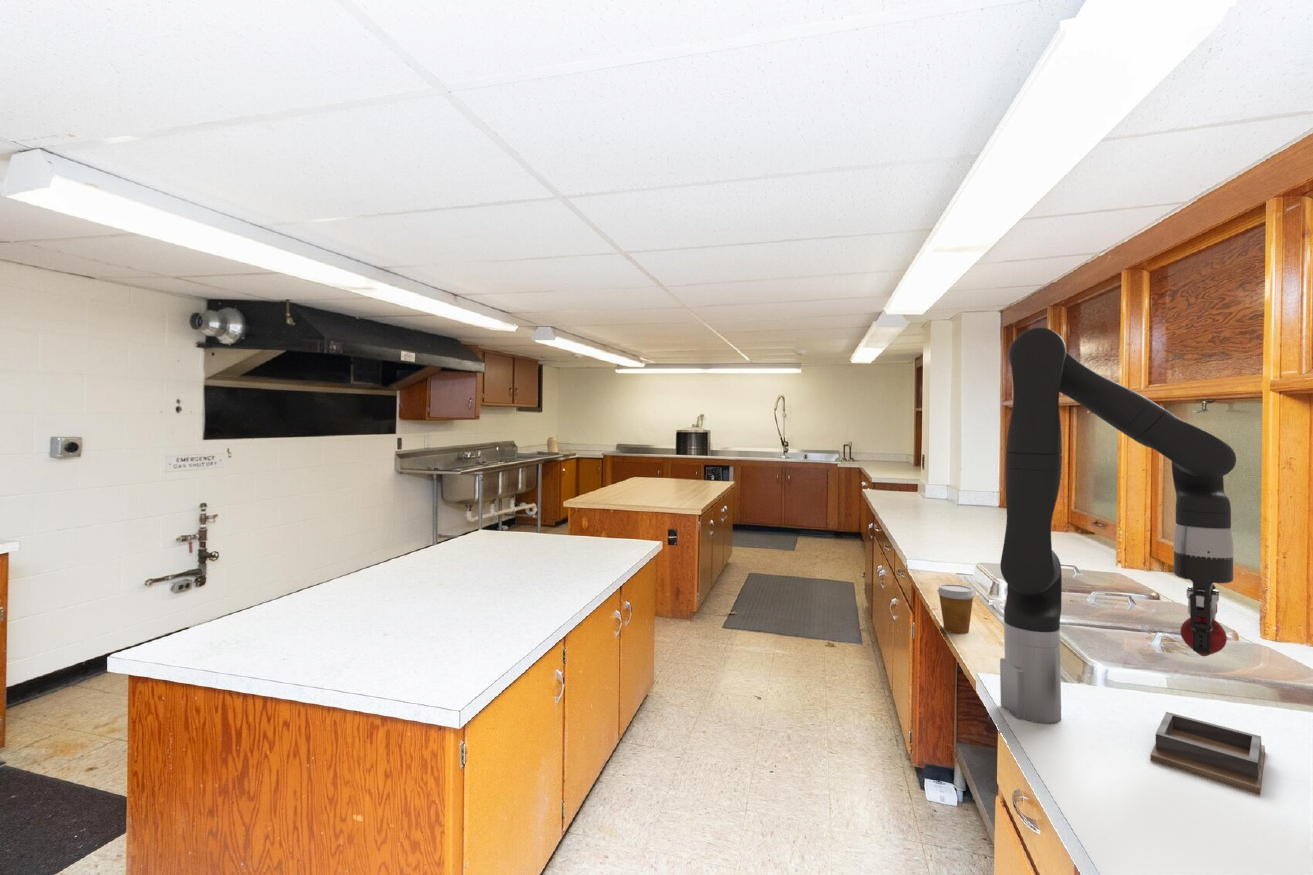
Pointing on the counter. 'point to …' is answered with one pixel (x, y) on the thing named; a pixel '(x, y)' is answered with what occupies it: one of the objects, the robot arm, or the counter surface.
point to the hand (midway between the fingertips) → (1202, 647)
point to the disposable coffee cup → (956, 607)
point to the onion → (1216, 635)
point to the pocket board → (1210, 751)
